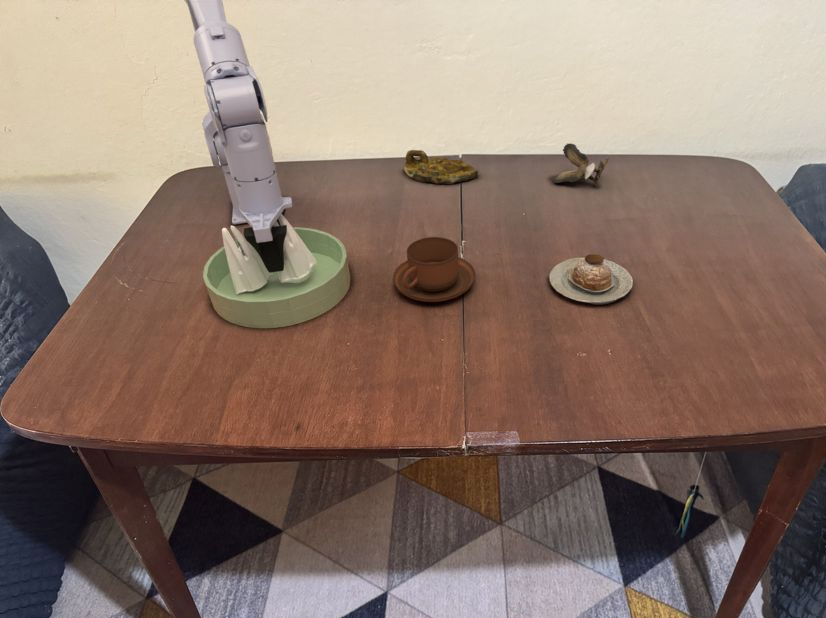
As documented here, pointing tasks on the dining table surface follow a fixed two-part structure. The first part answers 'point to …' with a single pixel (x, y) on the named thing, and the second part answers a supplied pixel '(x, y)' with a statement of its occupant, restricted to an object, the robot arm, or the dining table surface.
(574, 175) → the eagle figurine
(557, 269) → the pastry
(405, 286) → the cup and saucer
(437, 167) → the seal
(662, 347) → the dining table surface
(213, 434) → the dining table surface
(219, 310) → the bowl
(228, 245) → the shaker set
